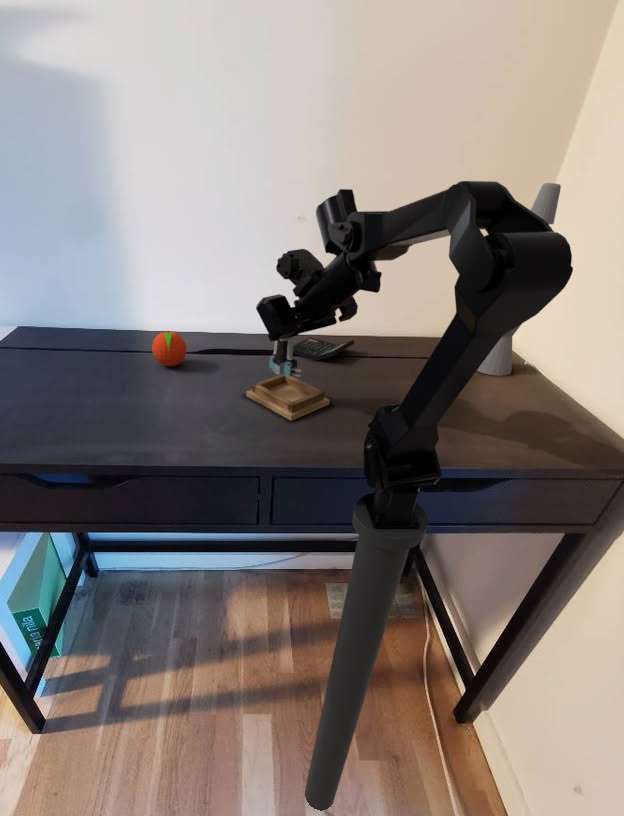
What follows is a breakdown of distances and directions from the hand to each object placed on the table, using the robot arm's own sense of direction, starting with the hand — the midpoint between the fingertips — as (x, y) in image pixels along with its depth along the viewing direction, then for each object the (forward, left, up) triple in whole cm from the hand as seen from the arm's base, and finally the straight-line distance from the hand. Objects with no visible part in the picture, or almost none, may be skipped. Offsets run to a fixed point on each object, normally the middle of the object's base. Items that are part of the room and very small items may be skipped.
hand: (281, 335), depth 84 cm
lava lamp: (+16, -49, -12) cm, 53 cm away
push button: (-1, -1, -7) cm, 7 cm away
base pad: (-1, -2, -12) cm, 12 cm away
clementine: (+14, +21, -12) cm, 28 cm away
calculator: (+23, -12, -12) cm, 29 cm away
